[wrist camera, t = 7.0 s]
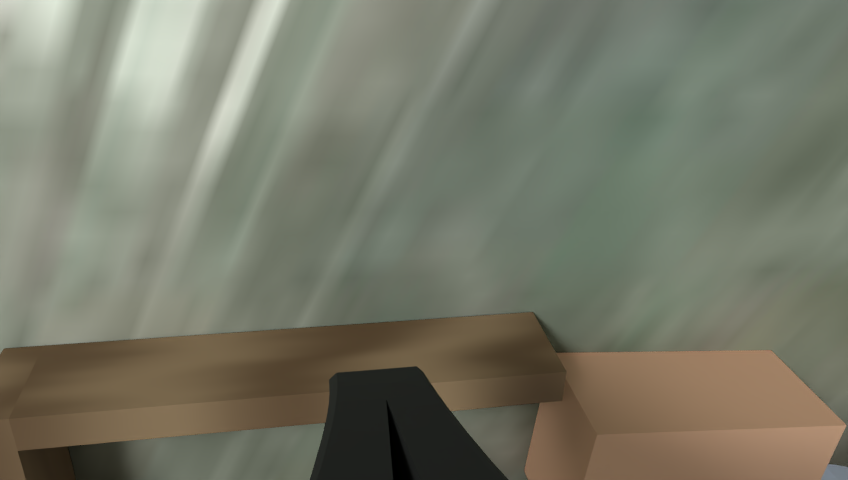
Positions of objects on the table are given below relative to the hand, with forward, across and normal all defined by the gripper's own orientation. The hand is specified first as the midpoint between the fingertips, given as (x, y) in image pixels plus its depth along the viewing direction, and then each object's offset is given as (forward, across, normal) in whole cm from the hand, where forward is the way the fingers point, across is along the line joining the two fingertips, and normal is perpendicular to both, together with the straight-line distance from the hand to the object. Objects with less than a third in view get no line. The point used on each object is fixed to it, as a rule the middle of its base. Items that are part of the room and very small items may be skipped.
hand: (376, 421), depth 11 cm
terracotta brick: (+10, -11, +9) cm, 17 cm away
